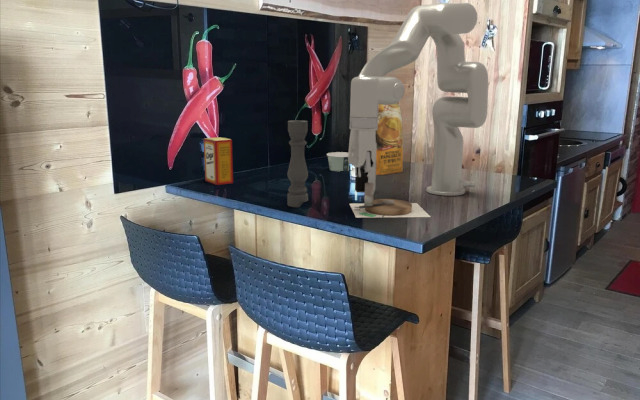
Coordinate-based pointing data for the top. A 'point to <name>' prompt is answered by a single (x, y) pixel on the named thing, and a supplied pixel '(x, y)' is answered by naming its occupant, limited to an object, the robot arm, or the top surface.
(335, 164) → the food container
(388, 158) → the pancake mix bag
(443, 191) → the robot arm
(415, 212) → the dial plate
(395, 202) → the dial
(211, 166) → the baking soda box
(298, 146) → the candle holder
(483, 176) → the top surface
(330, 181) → the top surface
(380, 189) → the top surface
